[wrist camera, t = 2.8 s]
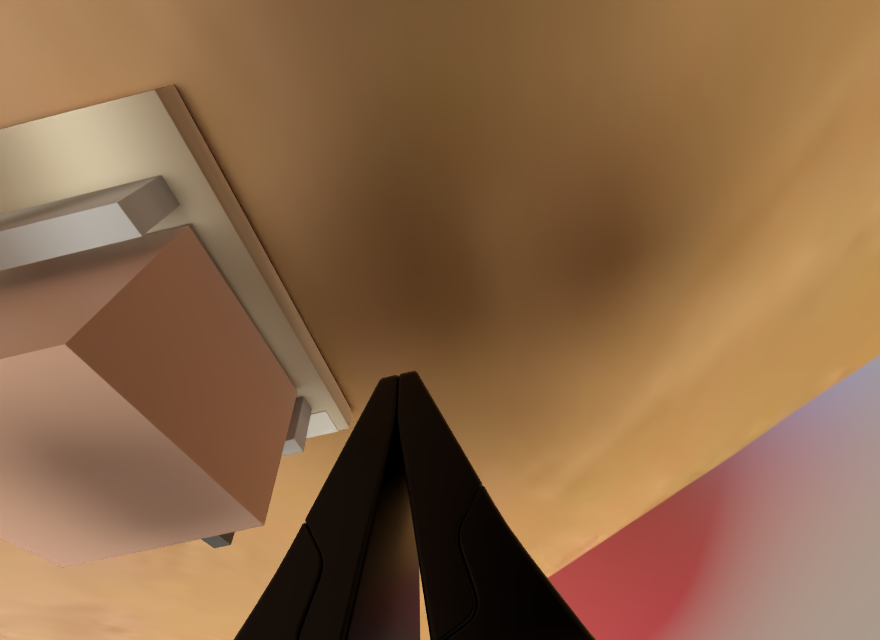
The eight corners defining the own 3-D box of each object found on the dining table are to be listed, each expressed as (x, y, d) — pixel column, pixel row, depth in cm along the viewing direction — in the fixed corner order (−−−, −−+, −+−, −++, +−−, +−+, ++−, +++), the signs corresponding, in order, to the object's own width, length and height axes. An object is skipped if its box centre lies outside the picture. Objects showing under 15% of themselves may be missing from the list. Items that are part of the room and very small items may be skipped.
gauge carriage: (188, 224, 10) (64, 343, 6) (322, 430, 16) (301, 559, 12) (-18, 274, 11) (-260, 420, 7) (188, 459, 16) (125, 596, 12)
